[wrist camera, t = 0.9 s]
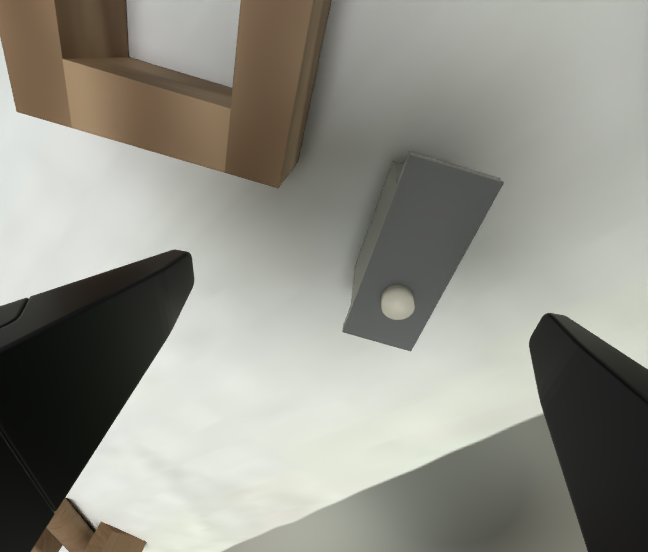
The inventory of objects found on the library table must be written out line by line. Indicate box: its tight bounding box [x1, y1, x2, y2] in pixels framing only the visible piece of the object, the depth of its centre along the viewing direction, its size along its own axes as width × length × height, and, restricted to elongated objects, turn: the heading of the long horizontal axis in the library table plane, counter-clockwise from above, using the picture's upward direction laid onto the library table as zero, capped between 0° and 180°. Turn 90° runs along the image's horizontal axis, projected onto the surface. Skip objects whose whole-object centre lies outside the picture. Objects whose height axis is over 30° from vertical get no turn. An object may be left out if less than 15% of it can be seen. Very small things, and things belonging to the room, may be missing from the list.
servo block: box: [342, 151, 504, 351], centre depth 19 cm, size 4×10×6 cm, turn 166°
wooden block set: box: [31, 498, 146, 552], centre depth 48 cm, size 17×6×18 cm
